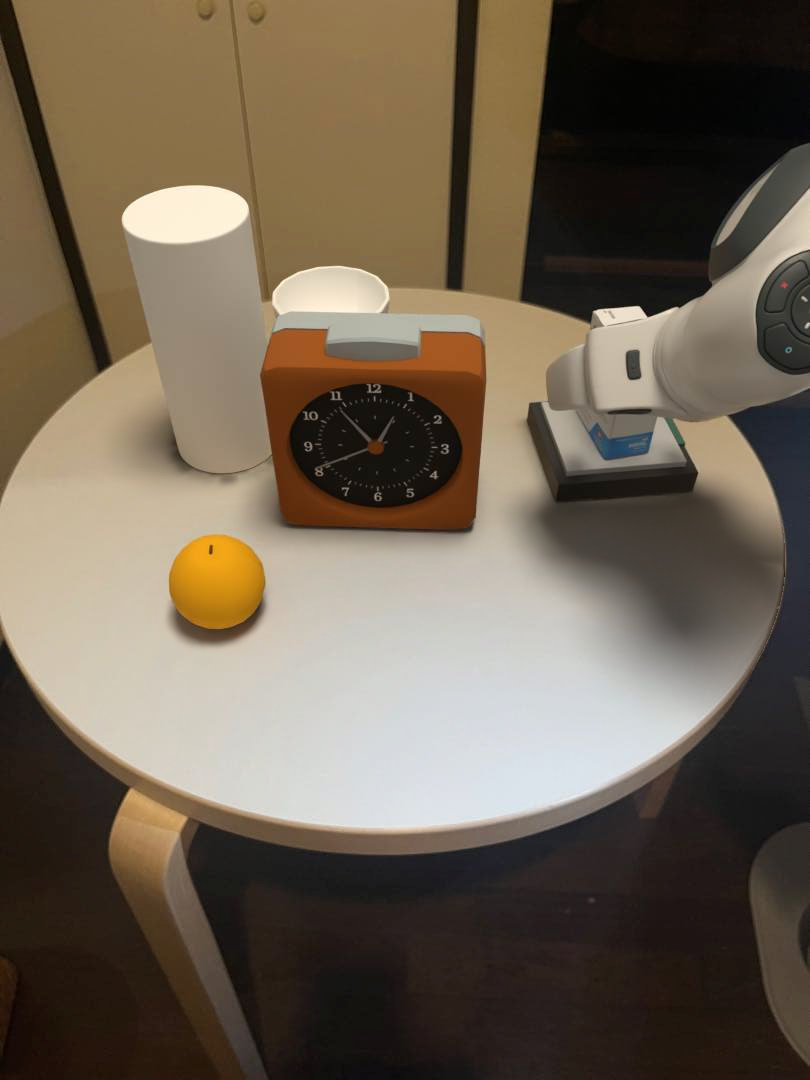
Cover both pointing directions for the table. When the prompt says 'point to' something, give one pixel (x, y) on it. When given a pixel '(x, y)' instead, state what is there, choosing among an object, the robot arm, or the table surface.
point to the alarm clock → (376, 418)
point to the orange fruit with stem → (216, 581)
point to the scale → (589, 475)
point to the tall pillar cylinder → (203, 320)
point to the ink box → (618, 430)
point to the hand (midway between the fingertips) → (639, 390)
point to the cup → (331, 292)
